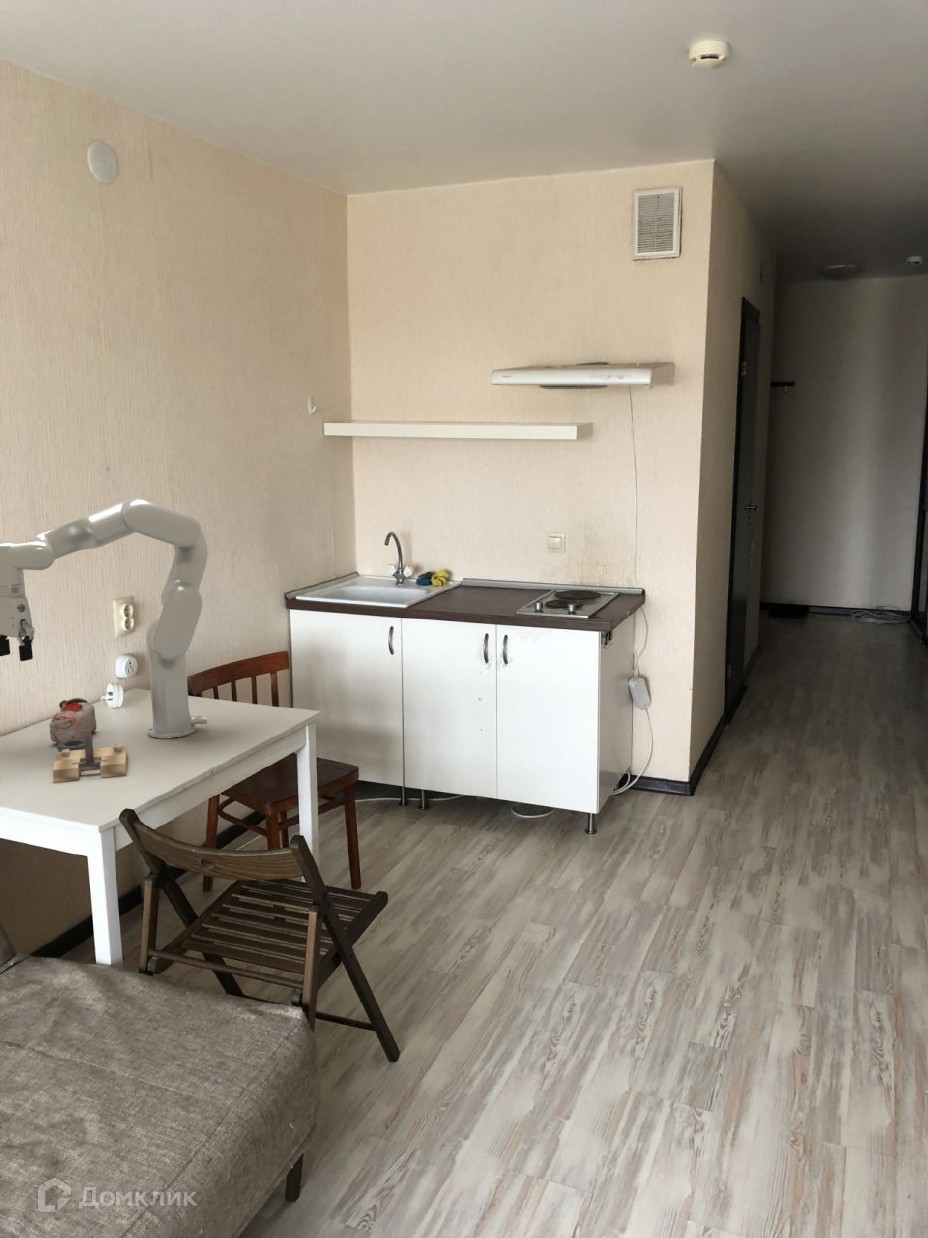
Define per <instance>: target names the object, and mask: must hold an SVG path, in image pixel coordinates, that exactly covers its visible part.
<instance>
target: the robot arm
mask: <svg viewBox="0 0 928 1238" xmlns="http://www.w3.org/2000/svg"><path fill="white" fill-rule="evenodd" d="M135 533H139V534H140V535H143V536H146V537H149V538H151V539H155V540H157V541H160V542H164V543H166V544H168V545H171V546H173V549H174V550H173V551H174V554H173V560H172V562H171V567H170V569H169V573H168V576H167V579H166V582H165V584H164V586H163V589H162V591H161V594H160V595H161V596H160V600H161V601H160V602H161V605H162V606H163V607H162V610H161V612H160V616H159V617H157V618H156V619H154V620H153V621H152V622H151V623H150V624H149V626H148V628H147V630H146V635H145V636H146V637H145V638H146V641H145V642H146V648H147V656H148V666H149V667H148V668H149V681H150V682H149V683H150V696H151V697H150V699H151V714H152V725H151V726H150V727H148V728H147V735H148V736H150V737H151V738H154V737H157V738H156V739H169V738H168V737H178V738H183V737H186V736H189V735H191V733H192V732H193V733H194V732H196V730H197V728H196V726H197V725H199V724H200V725H206V724H208V720H207V718H208V717H207V716H202V715H197V716H196V715H195V716H193V715H191V711H190V710H189V709H190V708H189V693H188V692H189V691H188V690H189V689H188V688H189V687H188V676H187V675H188V673H187V671H188V670H187V660H186V653H187V651H188V650H189V648H190V646H191V643H192V640H193V638H194V635H195V631H196V629H197V627H198V622H199V619H200V617H201V613H202V610H203V598H202V595H201V593H200V588H201V584H202V581H203V577H204V573H205V571H206V568H207V567H206V566H207V562H208V561H207V560H208V555H209V554H208V544H207V541H206V537H205V535H204V533H203V530H202V526H201V524H200V523H199V521H198V520H197V518H195V517H194V516H192V515H190V514H189V513H186V512H183V511H177V510H174V509H172V508H171V509H170V508H168V507H164V506H163V505H159V504H157V503H154V502H151V501H150V500H148V499H145V498H143V497H139V496H138V497H137V496H136V497H135V496H134V497H130V498H127V499H125V500H123V501H121V502H118V503H116V504H112V505H110V506H108V507H105V508H102V509H100V510H98V511H95V512H93V513H91V514H88V515H86V516H85V515H84V516H83V517H80V518H78V519H75V520H73V521H70V522H67V523H66V524H62V525H59V526H57V527H54V528H52V529H49V530H47V531H44V532H42V533H40V534H37V535H35V536H32V537H30V538H28V540H26V541H25V542H17V541H14V540H1V541H0V657H5V656H9V655H11V648H10V647H11V646H10V639H9V638H8V637H10V638H16V640H17V641H18V644H19V645H18V655H19V661H20V662H26V661H31V660H33V658H34V656H33V647H32V645H33V643H34V642H33V640H34V638H35V636H34V634H35V632H36V631H35V628H34V627H33V620H32V614H31V609H30V605H29V601H28V600H29V599H28V597H27V595H26V584H25V575H24V573H25V572H24V570H26V571H27V570H28V571H29V570H30V571H45V570H47V569H49V568H50V567H52V566H53V564H54V563H55V561H56V560H58V559H60V558H63V557H66V556H67V555H70V554H72V553H75V552H79V551H84V550H90V549H91V550H93V549H97V548H101V547H104V546H106V545H108V544H111V543H113V542H115V541H118V540H120V539H123V538H125V537H128V536H131V535H133V534H135ZM193 733H192V734H193ZM188 734H189V735H188ZM185 735H186V736H185ZM182 736H183V737H182Z"/></svg>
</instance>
